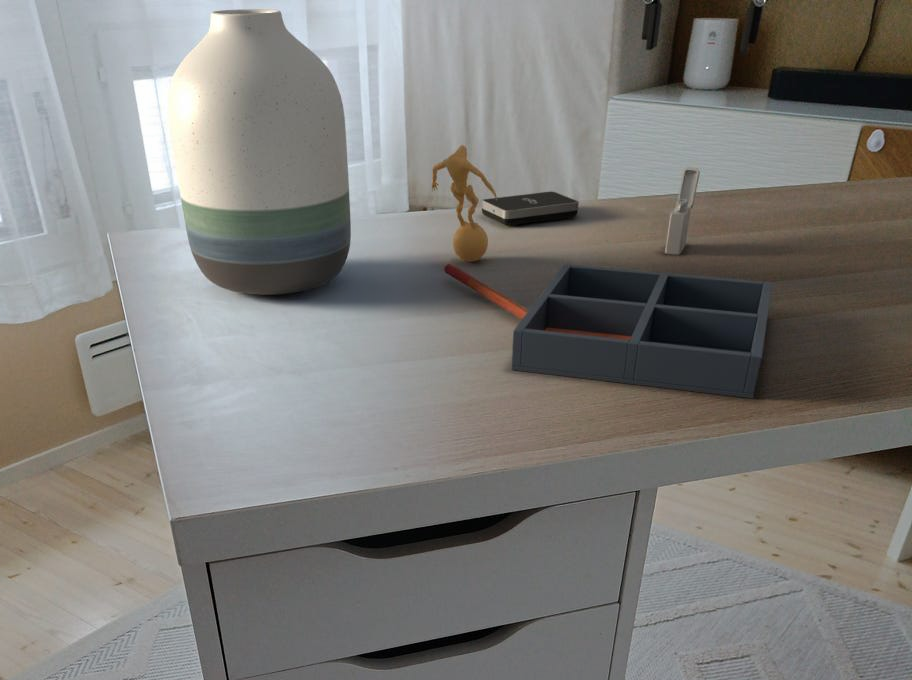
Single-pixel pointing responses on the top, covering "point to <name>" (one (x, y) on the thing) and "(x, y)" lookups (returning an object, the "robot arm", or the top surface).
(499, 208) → the external hard drive
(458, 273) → the pencil
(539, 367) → the grid
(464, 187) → the figurine
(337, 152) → the vase
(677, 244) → the lighter
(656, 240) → the top surface
